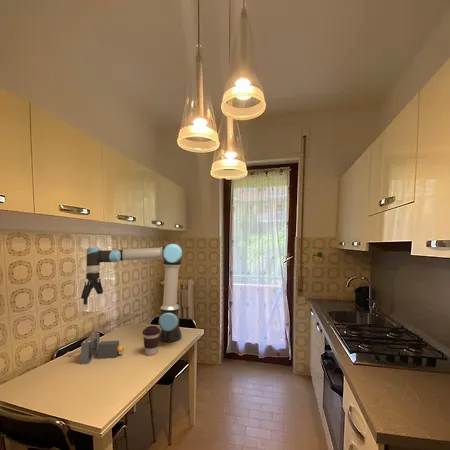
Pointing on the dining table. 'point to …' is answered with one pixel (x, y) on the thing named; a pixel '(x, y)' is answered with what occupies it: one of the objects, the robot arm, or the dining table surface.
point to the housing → (89, 348)
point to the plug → (109, 349)
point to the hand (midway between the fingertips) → (92, 307)
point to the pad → (73, 353)
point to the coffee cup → (151, 340)
